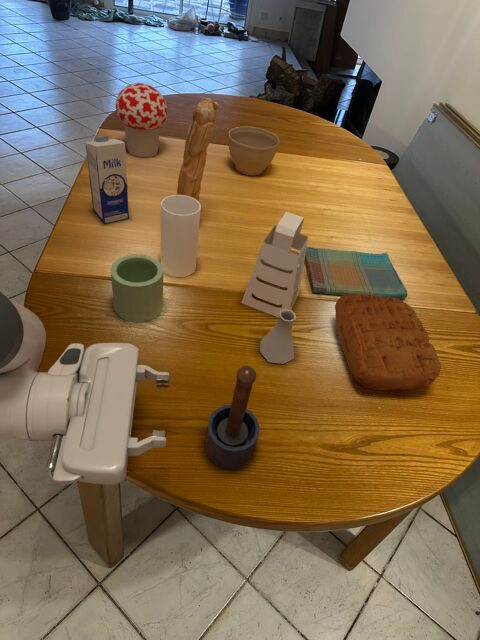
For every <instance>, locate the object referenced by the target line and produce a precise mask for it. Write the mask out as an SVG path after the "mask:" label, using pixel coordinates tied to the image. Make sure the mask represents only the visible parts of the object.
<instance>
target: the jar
mask: <svg viewBox="0 0 480 640" xmlns="http://www.w3.org/2000/svg"><path fill="white" fill-rule="evenodd" d="M164 274H165V272H164V271H163V267H162V265H161V263H160V261H159V260H158V259H156V258H154V257H153V256H150V255H146V254H139V253H138V254H137V253H134V254H133V253H131V254H126V255H124V256H121V257H118V258H117V259H116V260H115V261H114V262H113V263H112V264H111V267H110V279H111V289H112V291H111V292H112V300H113V301H112V302H113V309H114V312H115V314H117V316H118V317H119V318H120V319H121V320H125V321H127V322H131V323H144V322H150V321H153V320H154V319H156V318H157V317H158V316H159V315H160V314H161V312H162V310H163V308H164V307H163V306H164Z"/></svg>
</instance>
